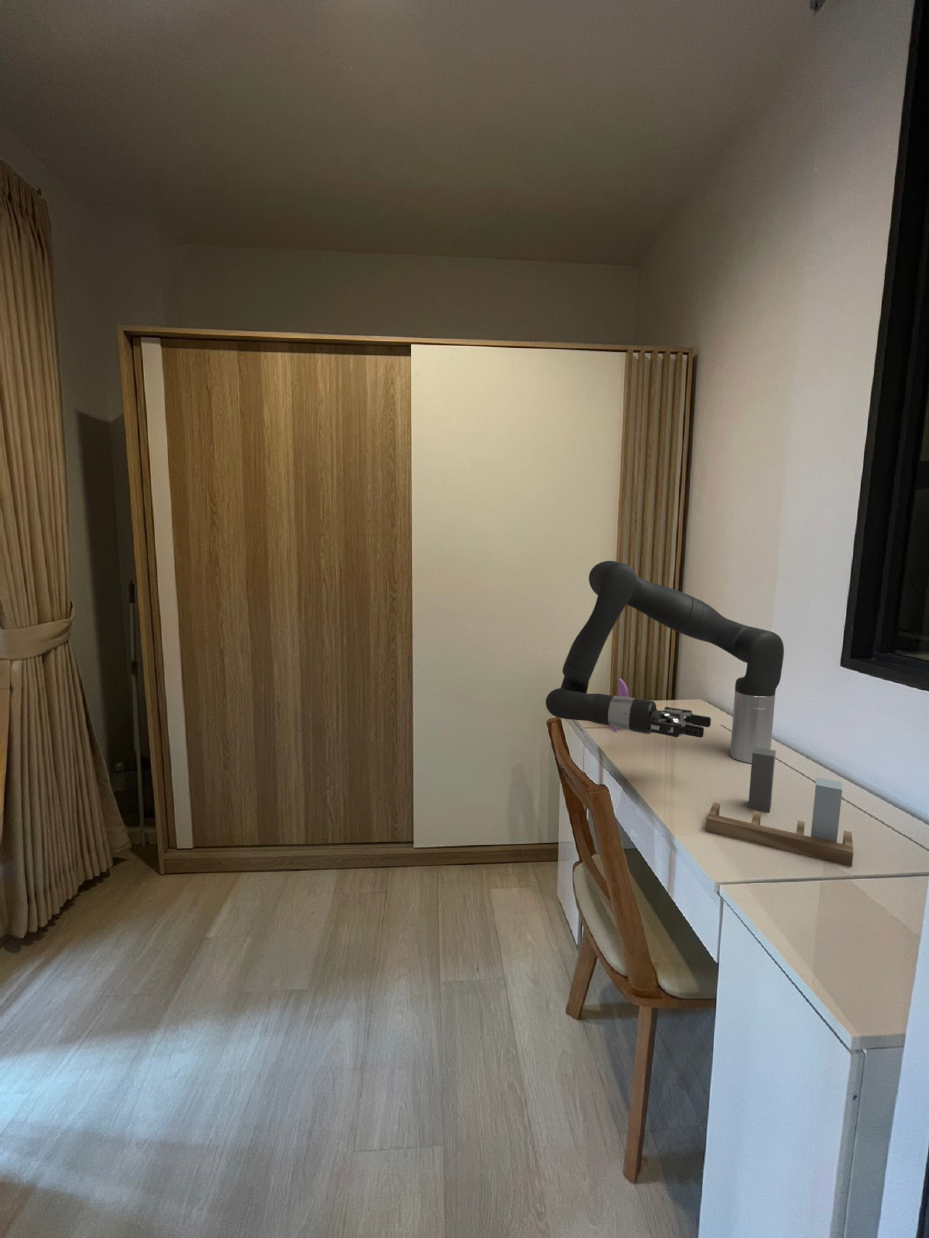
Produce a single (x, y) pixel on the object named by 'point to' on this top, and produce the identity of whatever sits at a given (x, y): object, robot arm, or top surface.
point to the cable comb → (781, 837)
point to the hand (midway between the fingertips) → (707, 727)
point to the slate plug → (826, 809)
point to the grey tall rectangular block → (761, 779)
